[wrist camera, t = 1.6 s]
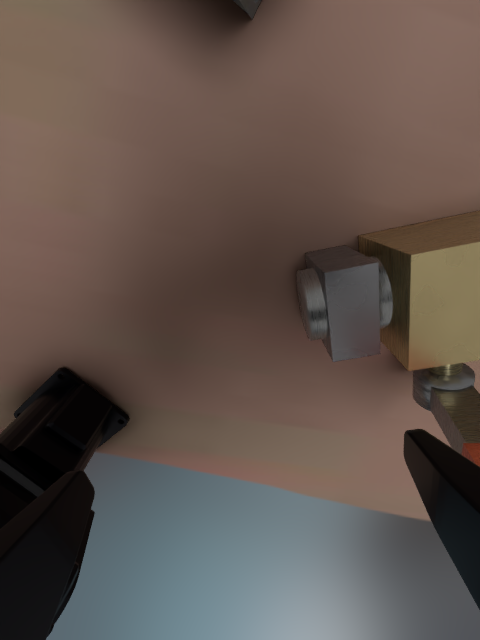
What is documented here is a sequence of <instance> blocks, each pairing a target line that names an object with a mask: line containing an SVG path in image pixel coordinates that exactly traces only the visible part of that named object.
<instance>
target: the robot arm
mask: <svg viewBox="0 0 480 640" xmlns="http://www.w3.org/2000/svg"><path fill="white" fill-rule="evenodd" d="M61 374H63V375H64V376H62V375H61ZM14 416H15V418H16V419H15V420H14V421H13V422H12V423H11V424H10V425H9V426H8V427H7V428H6V429H5V430H4V431H3V432H2V433H1V434H0V640H46V638H47V637H48V635H49V634H50V633H51V631H52V629H53V627H54V624H55V622H56V621H57V619H58V618H59V616H60V615H61V613H62V612H63V610H64V608H65V607H66V605H67V603H68V601H69V599H70V597H71V595H72V593H73V590H74V588H75V586H76V583H77V580H78V577H79V573H80V569H81V564H82V561H83V557H84V553H85V549H86V545H87V541H88V537H89V532H90V529H91V525H92V521H93V517H94V511H93V510H91V506H92V503H93V500H94V494H95V491H94V487H93V485H92V484H91V482H90V480H89V479H88V477H87V475H86V474H85V472H84V469H85V467H86V466H87V464H88V462H89V460H90V459H91V457H92V456H93V454H94V452H95V450H96V449H97V448H98V447H99V446H101V445H102V444H103V443H105V442H106V441H107V440H108V439H110V438H111V437H112V436H113V435H115V434H116V433H117V432H118V431H120V430H121V429H122V428H123V427H125V426H126V425H127V423H128V421H129V416H128V415H127V414H125V413H124V412H123V411H121V410H120V409H119V408H118V407H116V406H115V405H114V404H112V403H111V402H110V401H108V400H107V399H106V398H104V397H103V396H102V395H101V394H99V393H98V392H97V391H95V390H94V389H93V388H91V387H90V386H89V385H87V384H86V383H85V382H84V381H82V380H81V379H80V378H78V377H77V376H76V375H74V374H73V373H72V372H71V371H69V370H68V369H66V368H60V369H58V370H57V371H56V372H55V373H54V374H53V375H52V376H51V377H50V378H49V379H48V380H47V381H46V382H45V383H44V384H43V385H42V386H41V387H40V388H39V389H38V390H37V391H36V392H35V393H34V394H33V395H32V396H31V397H30V398H29V399H28V400H27V401H26V402H25V403H24V404H23V405H21V406H20V407H19V408H18V409H17V410H16V411H15V413H14ZM121 419H122V420H121ZM123 420H124V421H123ZM404 458H405V462H406V464H407V466H408V469H409V471H410V473H411V476H412V478H413V480H414V482H415V485H416V487H417V489H418V492H419V494H420V496H421V499H422V501H423V503H424V505H425V508H426V510H427V512H428V515H429V517H430V519H431V521H432V523H433V525H434V528H435V529H436V531H437V533H438V535H439V537H440V539H441V541H442V543H443V544H444V546H445V548H446V550H447V552H448V554H449V555H450V557H451V559H452V561H453V563H454V564H455V566H456V568H457V570H458V571H459V574H460V575H461V577H462V579H463V580H464V583H465V584H466V586H467V588H468V590H469V592H470V594H471V595H472V597H473V599H474V601H475V603H476V604H477V606H478V608H479V610H480V467H479V466H478V465H476V464H475V463H473V462H472V461H470V460H469V459H467V458H466V457H464V456H463V455H461V454H460V453H458V452H457V451H455V450H454V449H452V448H451V447H449V446H448V445H446V444H445V443H443V442H442V441H440V440H439V439H437V438H436V437H434V436H433V435H431V434H430V433H428V432H427V431H425V430H423V429H415V430H407V431H406V432H405V434H404Z"/></svg>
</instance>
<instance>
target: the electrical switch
mask: <svg viewBox="0 0 480 640" xmlns="http://www.w3.org/2000/svg"><path fill="white" fill-rule="evenodd" d="M233 1H234V2H235V3H237V4H238V5H239V6H240V7H241V8H242V9H243V10H244V11H245V12H246V13H247V14H248V15H249V16H250V17H251V19H253V17H254V15H255V13H256V11H257V8H258V6H259V4H260V2H261V0H233Z"/></svg>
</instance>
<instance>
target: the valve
mask: <svg viewBox="0 0 480 640" xmlns="http://www.w3.org/2000/svg"><path fill="white" fill-rule="evenodd" d="M358 240H359V252H357V251H355V250H354V249H352V248H350V247H348V246H346V245H343V246H338V247H333V248H328V249H323V250H318V251H313V252H309V253H305V258H306V267H307V269H304V270H299V271H297V275H296V281H297V292H298V299H299V305H300V310H301V315H302V320H303V324H304V327H305V331H306V334H307V336H308V339H309V340H310V341H312V340H318V339H321V340H322V342H323V343H324V345H325V347H326V349H327V351H328V353H329V355H330V357H331V359H332V361H333V362H335V361H341V360H347V359H353V358H359V357H365V356H371V355H377V354H380V341H381V342H382V343H383V344H384V345H385V346H386V347H387V348H388V349H389V350H390V351H391V353H392V354H393V355H394V356H395V357H396V358H397V359H398V360H399V361H400V362H401V364H402V365H403V366H404V367H405V368H406V369H407V370H408V371H413V370H419V369H425V368H426V369H427V370H429V371H430V372H432V373H434V374H438V375H443V376H453V375H457V374H459V373H461V372H462V367H463V363H464V362H470V361H476V360H480V211H475V212H470V213H465V214H461V215H456V216H451V217H446V218H441V219H436V220H431V221H427V222H422V223H417V224H412V225H407V226H402V227H397V228H392V229H388V230H383V231H378V232H373V233H368V234H363V235H358Z"/></svg>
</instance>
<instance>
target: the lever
mask: <svg viewBox="0 0 480 640" xmlns="http://www.w3.org/2000/svg"><path fill="white" fill-rule="evenodd" d="M474 381H475V373H474V371H473V370H472V369H471V368H470V367H469V366H467V365H466V364H464V363H463V367H462V372H461V373H459V374H457V375H453V376H443V375H438V374H434V373H432V372H430V371H429V370H427V369H426V368H425V369H419V370H413V398H414V400H415V401H416V402H417V403H418V404H419V405H420V406H421V407H423V408H425V409H427V410H429V411H431V412H432V413H433V415H434V417H435V419H436V420H437V422H438V424H439V426H440V428H441V429H442V431H443V433H444V435H445V436H446V438H447V440H448V442H449V444H450V445H451V447H452V449H454V450H455V451H457V452H458V453H460V454H461V455H463V456H464V457H466V458H467V459H469V460H470V461H472V462H473V463H475V464H476V465H478V466H479V467H480V394H479V393H478V391H477V390H476V389H475V388H474Z"/></svg>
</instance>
